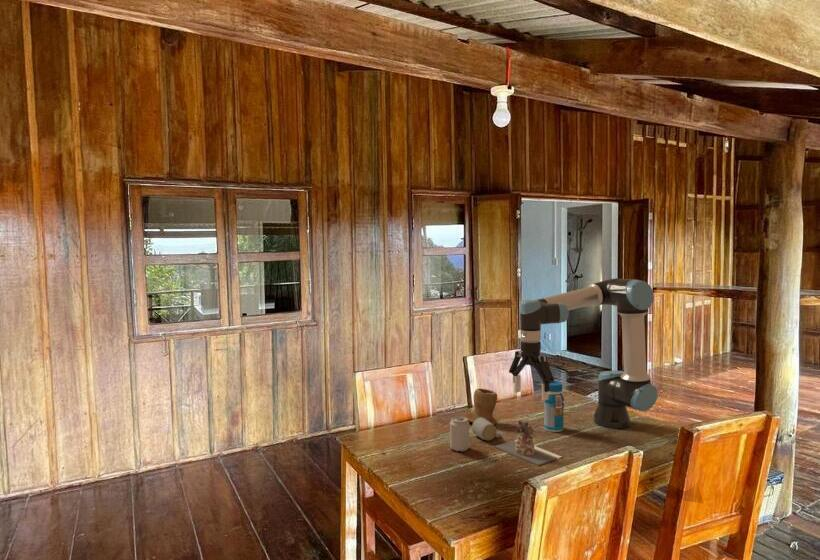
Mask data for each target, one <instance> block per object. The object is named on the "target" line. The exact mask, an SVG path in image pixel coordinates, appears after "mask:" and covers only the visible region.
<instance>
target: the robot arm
mask: <svg viewBox="0 0 820 560" xmlns="http://www.w3.org/2000/svg"><path fill="white" fill-rule="evenodd" d="M654 300H655V295H654V290H653V288H652V286H651V285H650V284H649V283H648V282H647V281H644V280H640V279H633V278H631V279H630V278H617V277H616V278H609V279H606V280H601V281H597V282H595V283H590V284H589V285H588V286H587V287H584V288H580V289H576V290H571V291H568V292H563V293H558V294H554V295H551V296H546V297H542V298H538V299H525V300H522V301H521V302H520V305H519V308H518V309H519V310H518V311H519V317H520V319H519V320H520V326H519V327H520V350H516V351H514V358H513V360H512V363H511V364H510V367H509V370H508V373H510V374H512V379H513V380H512V382H513V385H514V387H513V388H514V390H513V392H514V393H515V394H517V393H520V392H522V391H521V377H522V376H521V374H520V373H521V372H522V370H523V369H524V368H525V366H530V367H533V368H534V369H535V371H536V372H537V373H538V375H539V377H540V379H541V380H542V382H541V401H544V402H545V400H548V391H549V390H550V389H549V384H550V382H555V378H554V376H553V372H552V370H551V368H550V365H549V362H548V356H547V355H541V353H540V352H541V350H542V348H541V347H542V343H541V339H542V335H541V333H542V329H541V328H542V325H551V324H552V325H553V324H560V323H566V322H567V320H568V319H569V315H570V314H569V311H571V310H576V309H580V308H584V307H588V306H592V305H593V306H596V307H597V306H601V305H610V306H615V307H617V308H616V309H617V314H618V315H619V316H620V317H621V331H622V332H621V333H622V336H621V337H622V351H623V352H622V355H623V370H604V371H601V372H600V373H598V380H597V383H598V384H597V389H598V390H597V395H598V396H597V407H596V410H595V412H594V415H593V422H594V423H595V424H596V425H598V426H601V427H603V428H609V429H610V428H611V429H625V428H628V427H630V426H631V419H630V415H629V412H628V409H627V407H629V408H632V409H633V410H636V411H640V412H645V411H646V412H647V411H649V410H650V409H651V408H652V407H653V406H654V405H655V404H656V403H657V400H658V395H659V394H658V393H659V392H658V389H657V387H656V386H655V385H653V384H652V379H651V375H650V374H648V372H647V357H646V356H647V355H646V351H647V350H646V331H645V330H646V328H645V316H646V315H647V314H648V313H649V309H650V308H652V307H651V306H652V304H653V303H654Z"/></svg>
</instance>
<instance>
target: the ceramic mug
mask: <svg viewBox="0 0 820 560" xmlns="http://www.w3.org/2000/svg"><path fill="white" fill-rule="evenodd" d="M471 430H472V433H473V434H474V435H475V436H477V437H478V438H480V439H482V440H484V441H487V442H490V441H492V440H494V439H495V437H496V438H500V435H501V434H500V432H499V431H497V428H496V426H495V424H494V425H493V424H492V423H490V422H489V421H487V420H486V419H484V418H477V419H476V420H475V421H474V422H472V426H471Z"/></svg>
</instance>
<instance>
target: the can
mask: <svg viewBox="0 0 820 560" xmlns="http://www.w3.org/2000/svg"><path fill="white" fill-rule="evenodd" d="M467 420H468V419H467V418H465V417H460V416H454V417H452V418H451V420H450V422H449V447H450V449H453V450H452V451H454V450H455V452H458V451H461V452H467V450H468V449H470V422H469V421H467Z"/></svg>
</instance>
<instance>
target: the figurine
mask: <svg viewBox="0 0 820 560" xmlns="http://www.w3.org/2000/svg"><path fill="white" fill-rule="evenodd" d="M517 423H518V424H519V425H518V426H517V428H516V429H517V437H516V439H515V440H516V446H515V450H516V452H517V453H518V454H520V455H533V454H534V453H535V452H534V446H535V445H534V438H533V435H534V429H533V428H532V425H531V423H530V422H529V421H527V420H524V421H523V422H522V420H518V421H517ZM520 429H521V430H520Z"/></svg>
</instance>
